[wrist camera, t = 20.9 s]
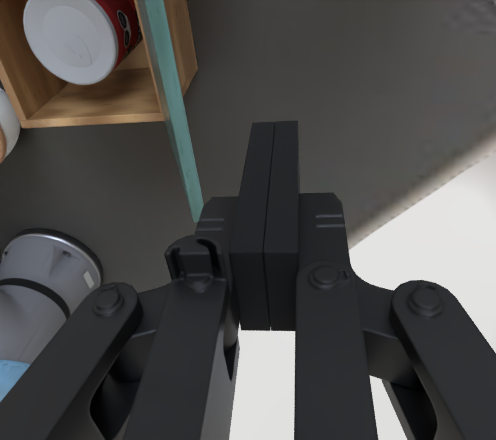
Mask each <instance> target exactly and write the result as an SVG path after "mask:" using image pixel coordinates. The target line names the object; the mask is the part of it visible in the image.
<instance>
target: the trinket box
mask: <svg viewBox="0 0 496 440" xmlns="http://www.w3.org/2000/svg"><path fill="white" fill-rule="evenodd" d="M19 133H20V120H18V117H17V115H16V113H15V111H14V108H13V106H12V104H11V102H10V100H9V97H8V95H7V93H6V92H5V91H4V90H3V89H1V88H0V164H1V163H2V161H3V160H4V158H5V157H6V156H7V155H8V154H9V153H10V152H11V151H12V149H13V148H14V146H15V144H16V142H17V140H18V137H19Z"/></svg>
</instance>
